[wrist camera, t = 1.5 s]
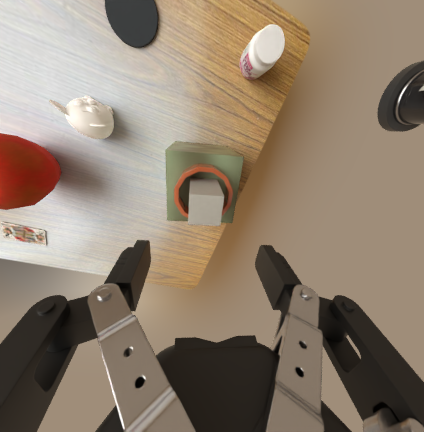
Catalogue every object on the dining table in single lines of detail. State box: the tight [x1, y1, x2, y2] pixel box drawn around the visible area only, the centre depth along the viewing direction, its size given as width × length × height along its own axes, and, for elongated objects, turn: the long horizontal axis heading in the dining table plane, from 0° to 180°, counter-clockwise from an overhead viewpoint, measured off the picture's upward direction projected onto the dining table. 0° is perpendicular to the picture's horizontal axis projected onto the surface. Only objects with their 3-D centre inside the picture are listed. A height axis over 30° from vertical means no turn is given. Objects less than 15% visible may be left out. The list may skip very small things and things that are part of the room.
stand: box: [166, 141, 244, 223], centre depth 32 cm, size 11×11×14 cm
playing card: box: [1, 222, 46, 246], centre depth 42 cm, size 9×5×1 cm, turn 70°
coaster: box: [105, 0, 158, 48], centre depth 26 cm, size 8×8×1 cm
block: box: [188, 177, 224, 226], centre depth 23 cm, size 4×4×7 cm
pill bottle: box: [240, 24, 285, 80], centre depth 27 cm, size 5×5×8 cm
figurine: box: [49, 96, 114, 139], centre depth 29 cm, size 8×6×7 cm
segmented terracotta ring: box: [174, 163, 233, 218], centre depth 25 cm, size 8×8×2 cm
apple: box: [0, 133, 61, 210], centre depth 29 cm, size 12×12×14 cm
